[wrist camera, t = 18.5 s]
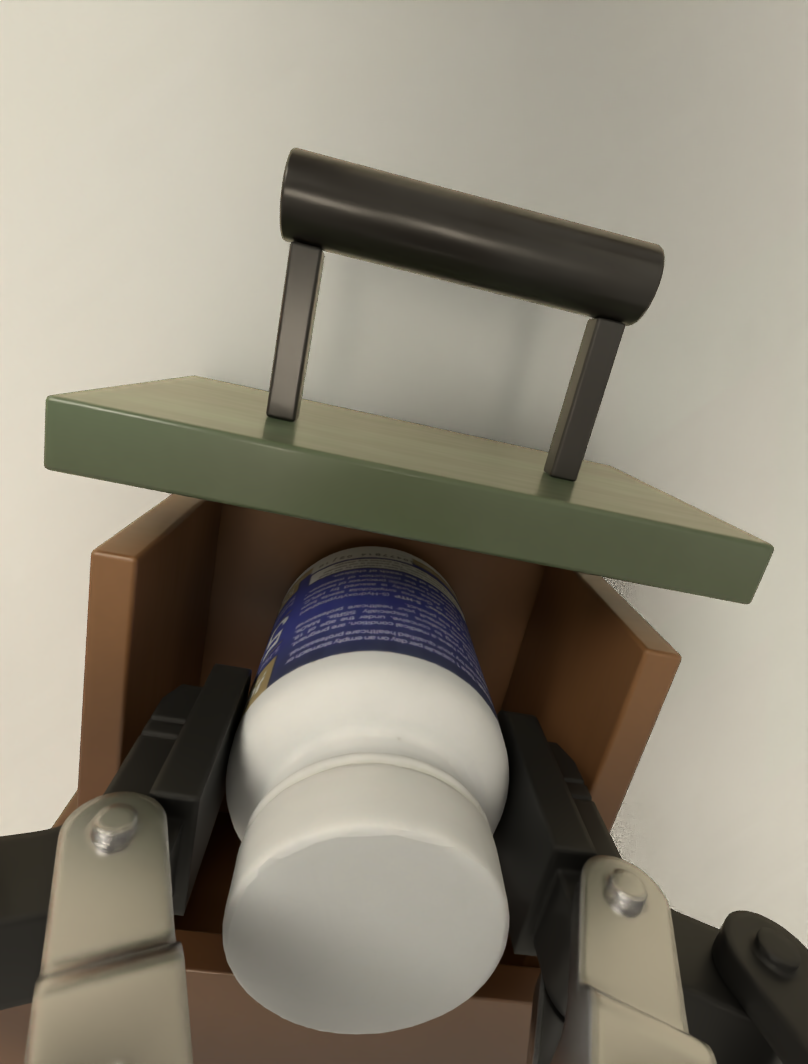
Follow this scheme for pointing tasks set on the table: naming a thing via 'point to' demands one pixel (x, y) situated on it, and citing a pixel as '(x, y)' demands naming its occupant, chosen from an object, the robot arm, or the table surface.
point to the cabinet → (316, 1056)
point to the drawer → (393, 500)
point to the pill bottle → (367, 804)
